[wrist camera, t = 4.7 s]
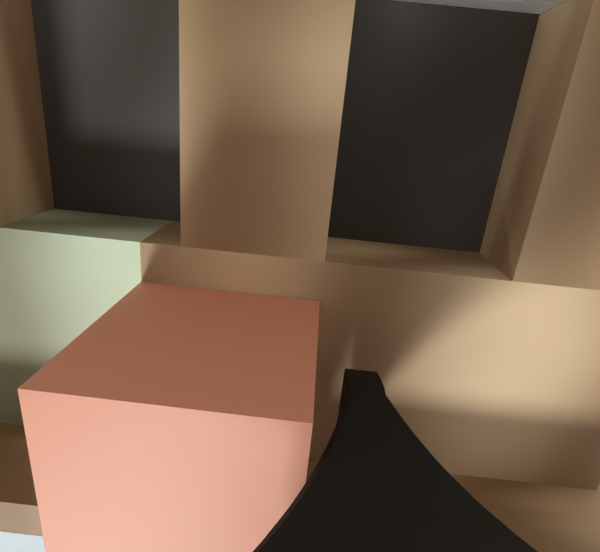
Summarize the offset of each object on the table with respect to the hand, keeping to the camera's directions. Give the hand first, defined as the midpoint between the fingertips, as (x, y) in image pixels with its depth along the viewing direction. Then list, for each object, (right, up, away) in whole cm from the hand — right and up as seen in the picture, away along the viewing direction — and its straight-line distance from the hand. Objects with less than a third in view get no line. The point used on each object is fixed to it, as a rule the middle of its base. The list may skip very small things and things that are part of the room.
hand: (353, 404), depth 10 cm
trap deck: (-2, +4, +2) cm, 5 cm away
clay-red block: (-3, +1, +1) cm, 3 cm away
